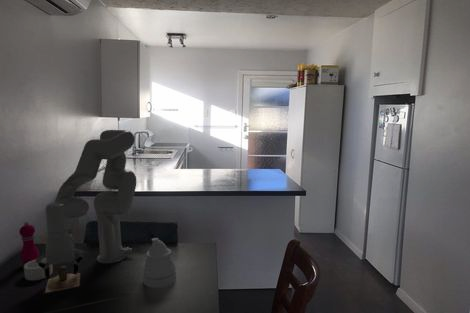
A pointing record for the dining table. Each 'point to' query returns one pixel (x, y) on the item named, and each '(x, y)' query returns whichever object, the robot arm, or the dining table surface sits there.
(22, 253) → the pepper mill
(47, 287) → the mat
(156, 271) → the honey pot
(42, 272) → the bowl
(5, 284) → the dining table surface
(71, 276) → the lid
